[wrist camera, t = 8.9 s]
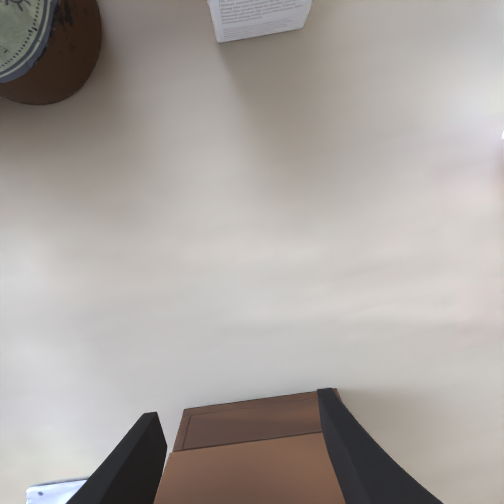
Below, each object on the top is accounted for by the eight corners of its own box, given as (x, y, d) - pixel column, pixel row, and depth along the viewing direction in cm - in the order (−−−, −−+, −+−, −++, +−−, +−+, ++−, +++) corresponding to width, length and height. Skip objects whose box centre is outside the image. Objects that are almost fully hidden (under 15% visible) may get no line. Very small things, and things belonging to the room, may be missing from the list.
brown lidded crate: (344, 477, 26) (360, 526, 22) (207, 495, 26) (200, 546, 23) (336, 388, 23) (352, 426, 20) (183, 409, 24) (171, 451, 20)
